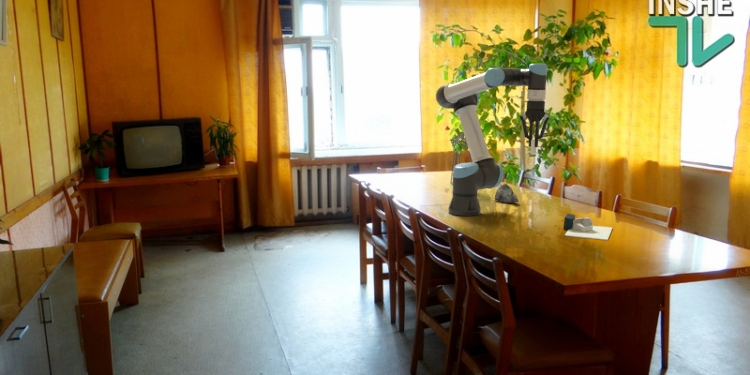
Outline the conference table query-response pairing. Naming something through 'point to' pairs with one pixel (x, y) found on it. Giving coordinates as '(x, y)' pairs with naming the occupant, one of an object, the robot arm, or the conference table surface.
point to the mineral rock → (505, 194)
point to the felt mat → (591, 233)
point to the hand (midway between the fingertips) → (532, 154)
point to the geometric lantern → (458, 149)
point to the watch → (572, 223)
